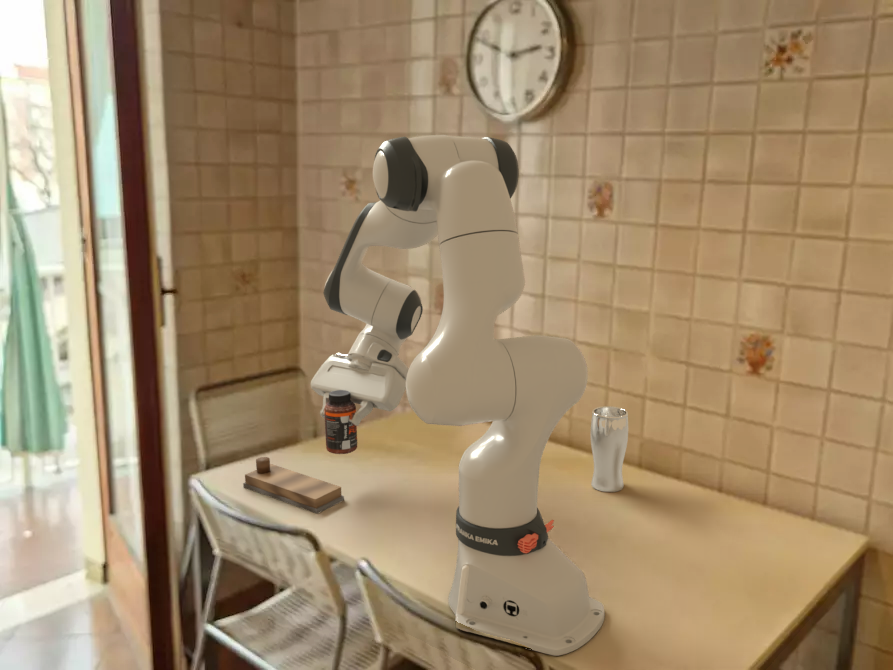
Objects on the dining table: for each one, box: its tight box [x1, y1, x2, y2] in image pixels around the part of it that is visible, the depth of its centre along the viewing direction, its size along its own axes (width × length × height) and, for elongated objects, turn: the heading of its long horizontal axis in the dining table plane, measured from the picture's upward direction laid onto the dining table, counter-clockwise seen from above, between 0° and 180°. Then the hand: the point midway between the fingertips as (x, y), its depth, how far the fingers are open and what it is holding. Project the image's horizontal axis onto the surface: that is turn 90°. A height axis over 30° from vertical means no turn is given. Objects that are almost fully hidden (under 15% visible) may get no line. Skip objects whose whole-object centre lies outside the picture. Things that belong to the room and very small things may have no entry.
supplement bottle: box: [324, 390, 358, 455], centre depth 156 cm, size 6×6×11 cm
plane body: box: [242, 456, 345, 514], centre depth 157 cm, size 20×7×5 cm, turn 53°
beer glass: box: [590, 405, 629, 493], centre depth 158 cm, size 7×7×15 cm
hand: (338, 420), depth 156 cm, fingers closed on supplement bottle, 6 cm apart
